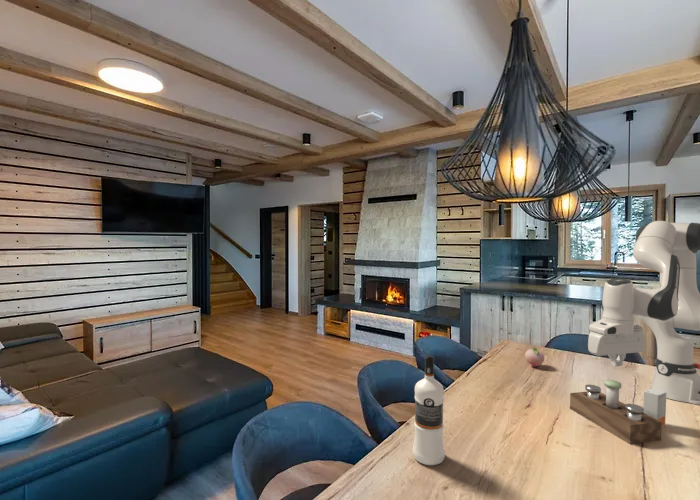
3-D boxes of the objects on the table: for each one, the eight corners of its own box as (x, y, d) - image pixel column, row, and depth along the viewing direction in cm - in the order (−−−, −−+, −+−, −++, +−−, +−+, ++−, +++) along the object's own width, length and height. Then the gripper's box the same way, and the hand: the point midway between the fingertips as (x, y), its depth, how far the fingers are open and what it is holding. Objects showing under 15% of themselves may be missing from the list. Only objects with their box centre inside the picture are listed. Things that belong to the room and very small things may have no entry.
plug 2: (632, 430, 121) (633, 403, 121) (647, 437, 116) (647, 409, 116) (620, 431, 120) (621, 404, 120) (634, 439, 115) (635, 411, 115)
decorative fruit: (522, 363, 186) (522, 344, 186) (539, 364, 185) (539, 344, 185) (528, 369, 177) (528, 349, 177) (546, 370, 176) (546, 350, 176)
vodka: (446, 452, 109) (447, 353, 108) (442, 470, 100) (443, 363, 99) (415, 445, 112) (416, 349, 111) (409, 462, 104) (410, 359, 103)
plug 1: (592, 408, 137) (593, 384, 136) (603, 414, 132) (604, 389, 132) (581, 409, 136) (582, 385, 136) (592, 415, 131) (592, 390, 131)
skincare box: (657, 430, 121) (658, 395, 121) (642, 424, 125) (643, 390, 125) (665, 426, 124) (667, 392, 124) (651, 420, 128) (652, 387, 127)
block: (597, 405, 139) (597, 390, 139) (661, 440, 115) (661, 421, 115) (569, 408, 137) (570, 393, 137) (629, 444, 113) (630, 425, 113)
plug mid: (611, 404, 129) (612, 379, 128) (624, 411, 124) (625, 384, 124) (600, 405, 128) (600, 380, 128) (612, 412, 123) (613, 385, 123)
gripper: (633, 322, 129) (632, 360, 130) (584, 325, 125) (584, 364, 126) (651, 326, 123) (650, 366, 123) (600, 330, 119) (600, 371, 119)
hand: (616, 365), depth 125 cm, fingers closed
